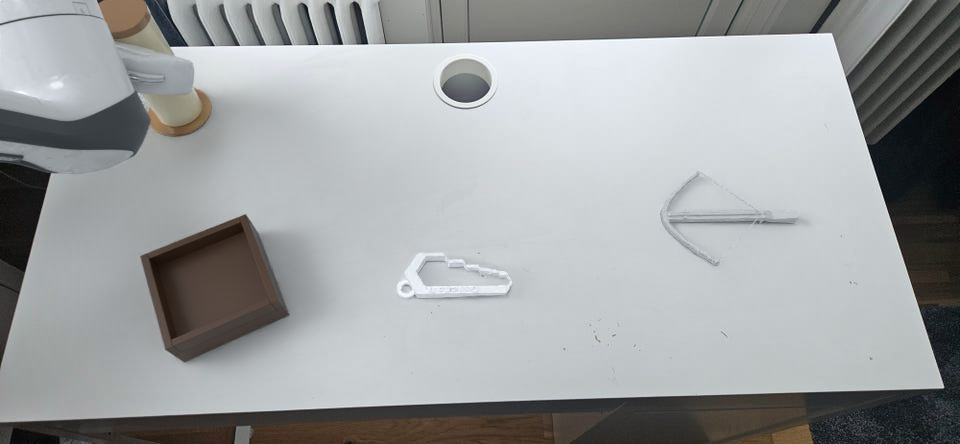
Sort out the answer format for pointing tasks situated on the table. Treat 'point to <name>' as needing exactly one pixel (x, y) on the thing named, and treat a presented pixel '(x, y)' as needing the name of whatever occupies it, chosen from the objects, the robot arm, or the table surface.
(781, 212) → the crossbow
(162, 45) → the cylindrical canister
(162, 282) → the tray
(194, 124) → the coaster
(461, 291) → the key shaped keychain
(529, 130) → the table surface
